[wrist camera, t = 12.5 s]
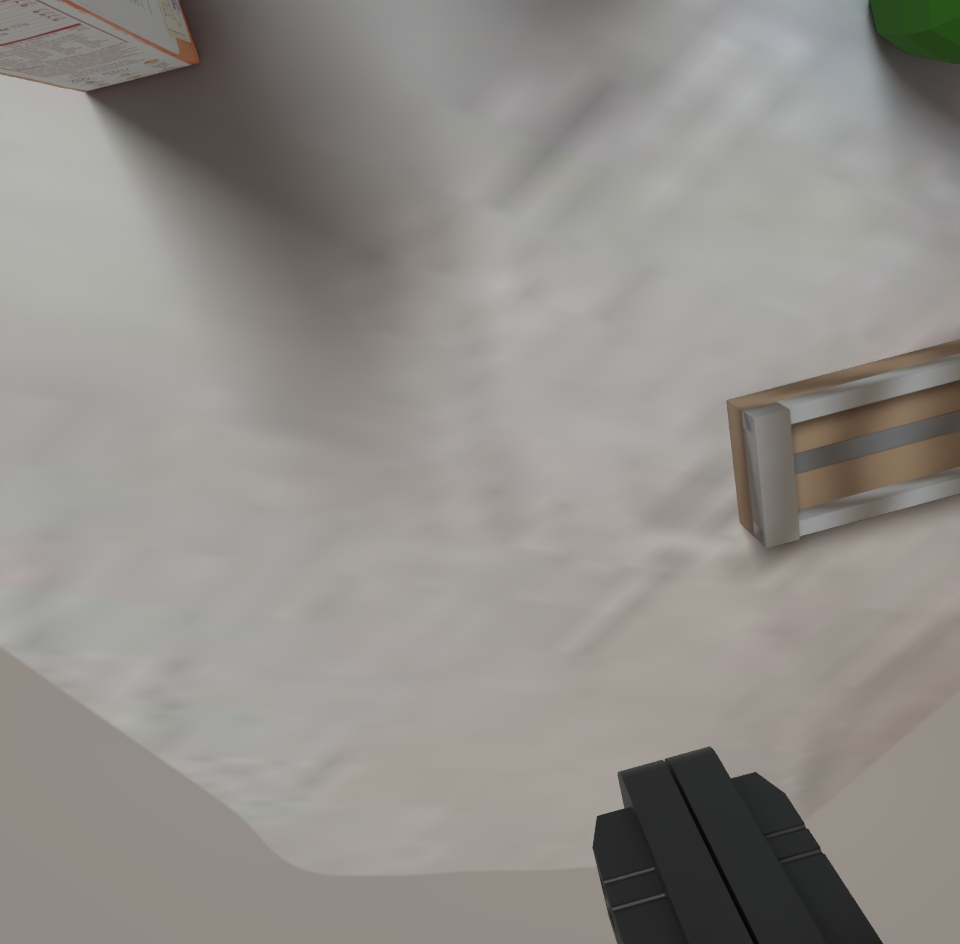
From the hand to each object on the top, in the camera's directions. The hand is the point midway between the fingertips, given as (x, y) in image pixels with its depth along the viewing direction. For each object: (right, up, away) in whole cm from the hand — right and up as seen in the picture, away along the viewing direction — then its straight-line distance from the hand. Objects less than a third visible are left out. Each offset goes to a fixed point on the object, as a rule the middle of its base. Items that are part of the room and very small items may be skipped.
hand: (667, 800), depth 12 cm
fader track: (+24, +9, +34) cm, 43 cm away
